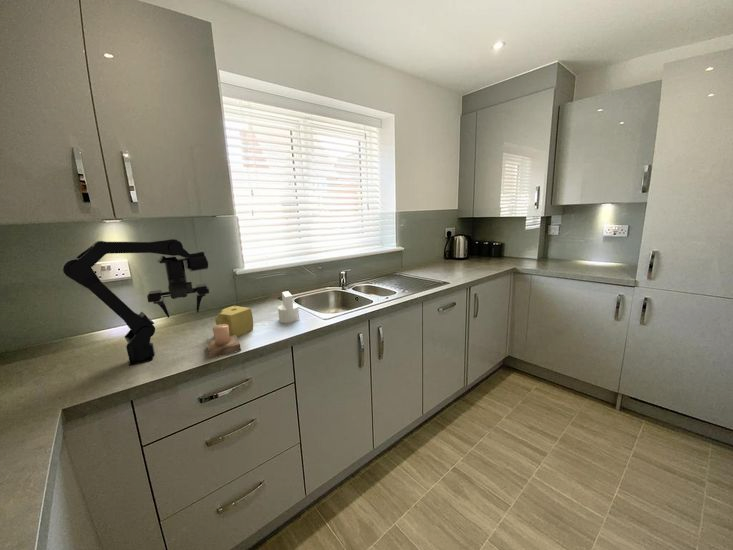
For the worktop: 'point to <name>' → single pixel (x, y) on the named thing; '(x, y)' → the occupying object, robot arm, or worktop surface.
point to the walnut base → (223, 347)
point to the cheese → (236, 320)
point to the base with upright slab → (288, 309)
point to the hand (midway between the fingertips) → (183, 314)
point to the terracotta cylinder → (221, 334)
